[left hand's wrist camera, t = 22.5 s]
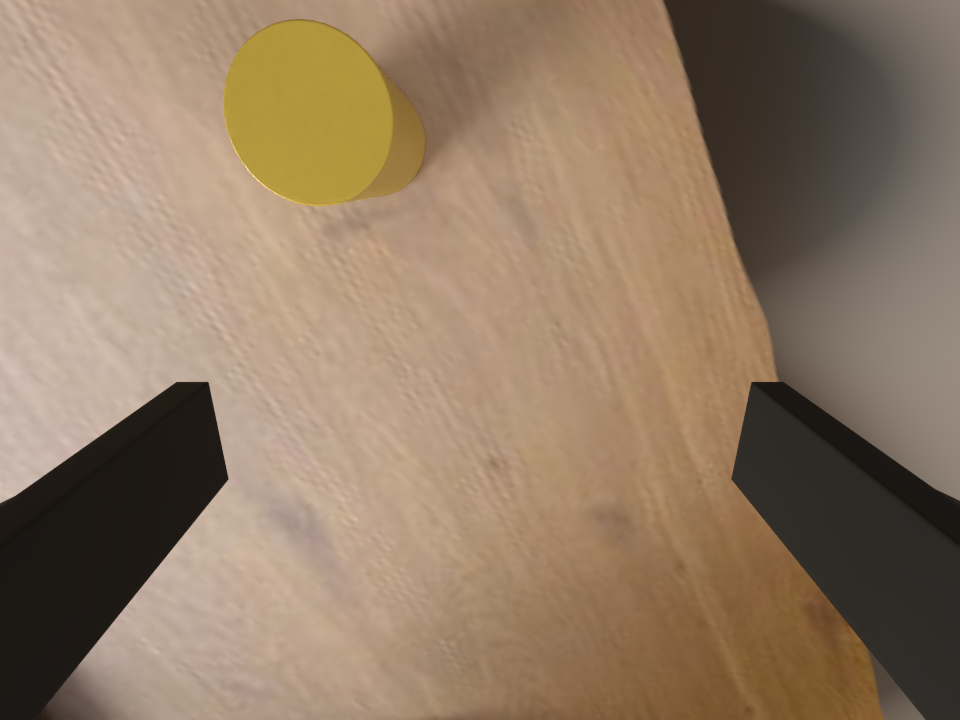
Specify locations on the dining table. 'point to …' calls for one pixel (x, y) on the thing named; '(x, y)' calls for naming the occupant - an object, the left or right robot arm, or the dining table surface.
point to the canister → (319, 116)
